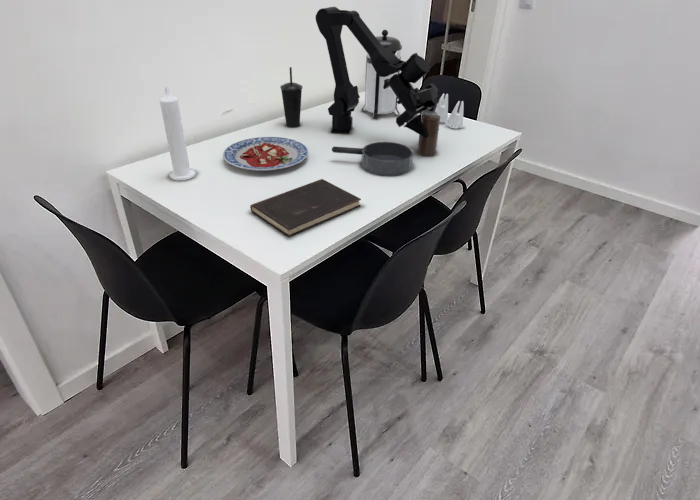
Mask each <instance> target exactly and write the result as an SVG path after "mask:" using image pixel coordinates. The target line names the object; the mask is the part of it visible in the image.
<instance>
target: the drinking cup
mask: <svg viewBox="0 0 700 500" xmlns="http://www.w3.org/2000/svg"><path fill="white" fill-rule="evenodd" d="M279 88H280V91H281V97H282V104H283V112H284V117H285V118H284V120H285V125H286V127H288V128H297V127H300V126H301V110H302V109H301V108H302V92H303V91H302V90H303V85H301V84H299V83H298V82H293V69H292V67H291V66H290V67H289V82H285V83H284V84H281V85H280V87H279Z"/></svg>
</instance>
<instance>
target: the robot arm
mask: <svg viewBox="0 0 700 500" xmlns="http://www.w3.org/2000/svg"><path fill="white" fill-rule="evenodd" d="M315 22H316V26H317V28H318V31H319V33H320V34H321V35H322V37H323V38H324V39H325V43H326V47H327V51H328V56H329V61H330V66H331V70H332V75H333V79H334V84H335V86H334V91H333V103H332V104H331V105H330V106H329V107H328V108H327V112H328V115H329V116H331V130H330V133H332V134H333V133H335V134H347V135H348V134H350V133H351V131H352V130H353V123H354V121H353V119H354V118H353V116H352V112H354V111H355V109H356V107H357V106H358V105H359V103H360V98H361V96H360V94H359V88H358V86H357V85H353V83H352V82H351V80H350V76H349V75H350V74H349V71H348V66H347V61H346V56H345V51H344V46H343V42H342V41H343V40H342V32H343V26H346V27H347V28H348V30H349V32H351V34H352V35H353V36H354V38H355V39H356V40H357V42H358V43H359V44H360V45H361V47H362V48H363V50H365V52H366V54H367V53H368V54H369V56H370V59H371V64H372V66H373V68H374V69H375V71H376V73H377V74H378V75H379V76H380V77H386V76H389V75H392V74H394V73H396V72H399V71H400V73H399V74H394V75H393V76H392V77H391V78H390V79H385V80H384V86H383V89H386V88H388V87H390V88H391V89H392V91H393V92H394V94H395V95H396V97H397V98H398V100H397V106H399V105H401V106H402V107H403V109H404V111H403V112H401V114H399V115H398V116H396V117H395V123H396V126H398V128H401V127H402V126H403V127H404V128H407V129H408V130H410V131H413V132H415V133H416V134H418V135H419V134H420V135H421V136H423V137H425V138H427V137H429V135H428V133H427V131H426V129H425V127H424V125H423V124H422V122H421V115H422V114H425V112H426V111H434V112H435V109H436V107H437V104H438V103H439V99H438V97H439V96H438V92H439V88H437V85H435V84H434V82H433V83H430V84H427V85H425V86H426V87H425V89H423V90H422V89H421V90H420V88H418V87H414V86H413V85H412V84H417V82H419V80H421V79H422V78H423V77H424V76H425V75H426V74H428V73H429V72H430V69H431V68H430V65H429V63H428V61H427V59H425V58H423V57H422V56H420V55H419V54H418V53H417V52H415V53H412V54H411V55H410V57H409V58H408V59H407V60H406V61H405V60H402V59H401V60H399V59H398V57H397V56H396V55H394V54H393V53H392V52H391V51H390V50H388V49H387V48H385V47H383V46H382V45H381V44H380V42H379V41H378V40H377V38H376V37H377V36H375V34H374V33H373V32H372V30H371V29H370V28H369V27H368V25H367V24H366V22H364V20H363V19H362V17H361V16H360V12H358V11H357V10H348V9H347V10H346V9H339V8H338V7H337V6H328V7H323V8H320V9H319V10H317V12H316V14H315Z"/></svg>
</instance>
